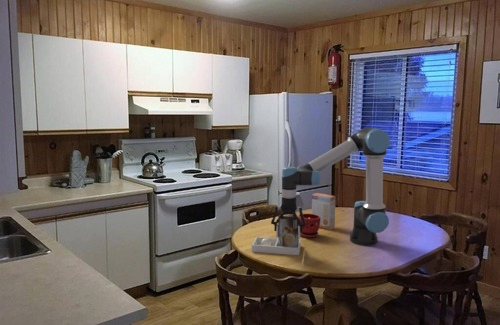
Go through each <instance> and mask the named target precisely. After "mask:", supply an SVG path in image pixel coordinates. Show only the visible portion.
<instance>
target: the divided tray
mask: <svg viewBox="0 0 500 325" xmlns="http://www.w3.org/2000/svg"><path fill="white" fill-rule="evenodd" d="M264 238H267V239H269V240H270V242H271V244H270V246H265V245H261V241H262V239H264ZM301 244H302V240H301V239H298V247H295V248H293V247H280V246H279V245H278V238H276V237H266V236H265V237H264V236H255V239H254V240H253V242H252V244H251V252H253V253H265V254H279V255H289V256H290V255H294V256H300V252H301V247H302V245H301Z"/></svg>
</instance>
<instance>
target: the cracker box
mask: <svg viewBox="0 0 500 325" xmlns="http://www.w3.org/2000/svg"><path fill="white" fill-rule="evenodd" d="M311 195H312V196H311V198H312V199H311V214H315V215H319V216H320V217H321V219H320V227H319V229H323V230H327V231H331V230H334V229H335V224H336V222H335V221H336V220H335V219H336V196H335V195H331V194H327V193H326V194H325V193H320V192H315V193H312V194H311ZM316 225H317V223H316Z"/></svg>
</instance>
